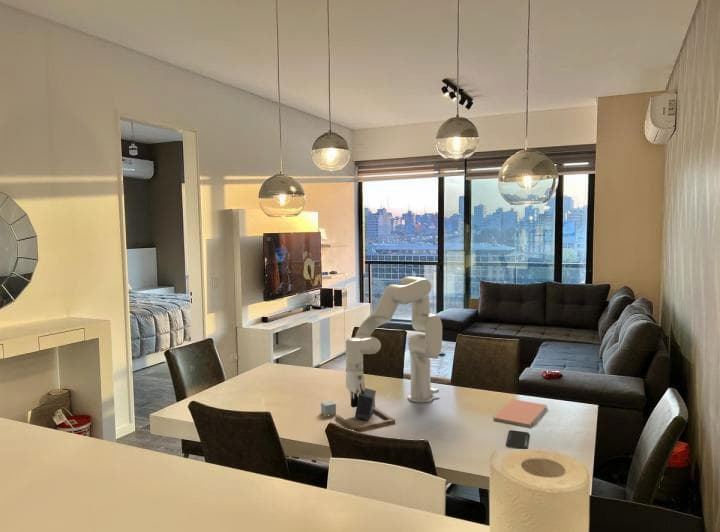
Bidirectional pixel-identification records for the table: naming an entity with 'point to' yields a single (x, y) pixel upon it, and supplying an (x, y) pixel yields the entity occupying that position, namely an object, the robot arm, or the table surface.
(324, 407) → the slate block
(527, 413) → the notebook
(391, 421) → the frame
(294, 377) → the table surface
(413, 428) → the table surface
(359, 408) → the small box
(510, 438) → the phone
